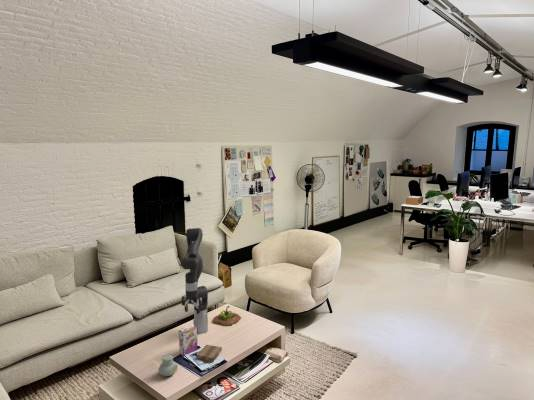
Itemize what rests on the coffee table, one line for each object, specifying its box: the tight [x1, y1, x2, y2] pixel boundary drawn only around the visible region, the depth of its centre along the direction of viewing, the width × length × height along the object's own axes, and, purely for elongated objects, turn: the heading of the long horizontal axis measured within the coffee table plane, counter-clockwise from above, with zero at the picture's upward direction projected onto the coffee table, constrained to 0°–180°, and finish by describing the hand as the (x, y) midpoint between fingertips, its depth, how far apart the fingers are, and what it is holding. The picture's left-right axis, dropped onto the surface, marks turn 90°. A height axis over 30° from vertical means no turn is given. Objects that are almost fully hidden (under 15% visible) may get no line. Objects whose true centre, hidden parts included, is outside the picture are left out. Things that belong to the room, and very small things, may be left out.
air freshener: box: [158, 354, 179, 377], centre depth 221 cm, size 11×8×10 cm
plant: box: [212, 305, 242, 327], centre depth 287 cm, size 20×20×11 cm
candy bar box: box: [178, 324, 198, 357], centre depth 243 cm, size 11×5×16 cm, turn 134°
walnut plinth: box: [196, 344, 223, 363], centre depth 240 cm, size 11×13×3 cm
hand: (192, 312), depth 242 cm, fingers open, 8 cm apart
